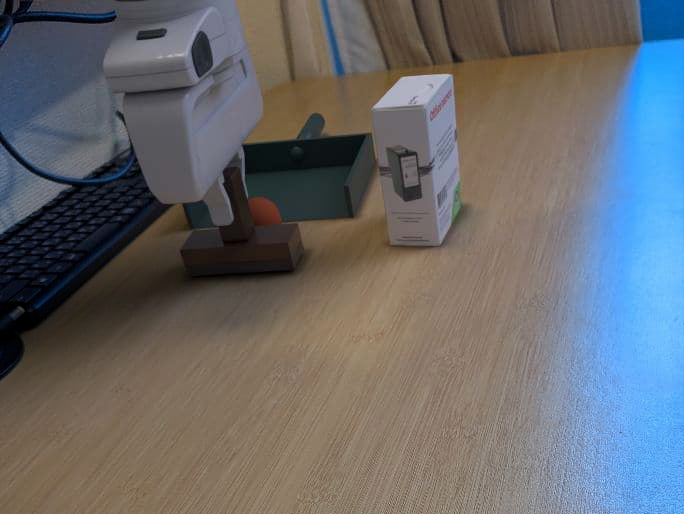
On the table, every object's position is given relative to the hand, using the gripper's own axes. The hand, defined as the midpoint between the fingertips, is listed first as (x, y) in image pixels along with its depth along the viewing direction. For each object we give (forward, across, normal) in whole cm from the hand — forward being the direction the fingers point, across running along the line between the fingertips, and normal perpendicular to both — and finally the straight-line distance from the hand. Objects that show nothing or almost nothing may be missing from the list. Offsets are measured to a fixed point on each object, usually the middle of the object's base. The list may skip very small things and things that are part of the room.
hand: (231, 212), depth 71 cm
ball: (+3, -5, 0) cm, 6 cm away
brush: (+5, 0, 0) cm, 5 cm away
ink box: (+5, -6, +16) cm, 18 cm away
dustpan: (+5, -22, 0) cm, 22 cm away
